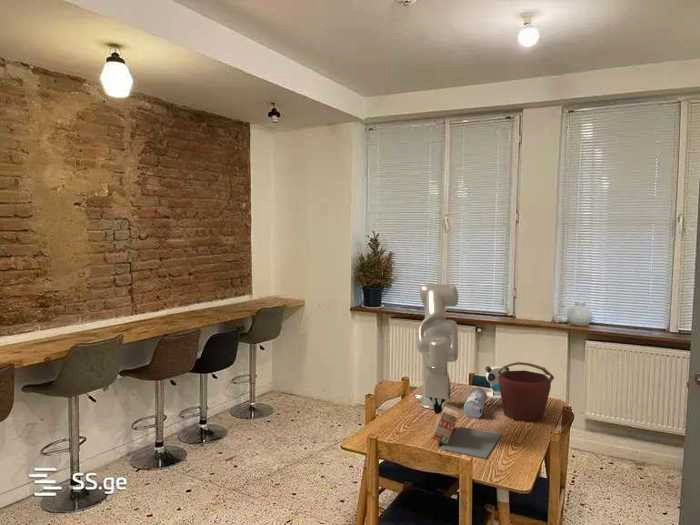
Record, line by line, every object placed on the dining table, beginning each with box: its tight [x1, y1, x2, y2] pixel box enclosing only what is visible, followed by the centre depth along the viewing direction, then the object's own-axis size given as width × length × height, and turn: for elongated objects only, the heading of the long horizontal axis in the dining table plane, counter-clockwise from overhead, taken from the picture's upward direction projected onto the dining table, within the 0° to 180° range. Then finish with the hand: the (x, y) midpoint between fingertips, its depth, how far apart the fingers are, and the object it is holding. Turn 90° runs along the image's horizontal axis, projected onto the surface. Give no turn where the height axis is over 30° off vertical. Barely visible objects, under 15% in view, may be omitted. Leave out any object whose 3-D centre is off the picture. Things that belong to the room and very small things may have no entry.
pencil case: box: [463, 387, 488, 419], centre depth 248 cm, size 21×9×10 cm, turn 160°
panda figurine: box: [484, 365, 510, 399], centre depth 273 cm, size 12×11×15 cm
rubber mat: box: [439, 426, 502, 460], centre depth 212 cm, size 18×26×1 cm
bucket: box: [498, 361, 555, 423], centre depth 241 cm, size 24×22×25 cm
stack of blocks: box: [432, 402, 459, 445], centre depth 218 cm, size 21×6×12 cm, turn 168°
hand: (437, 412), depth 218 cm, fingers closed
